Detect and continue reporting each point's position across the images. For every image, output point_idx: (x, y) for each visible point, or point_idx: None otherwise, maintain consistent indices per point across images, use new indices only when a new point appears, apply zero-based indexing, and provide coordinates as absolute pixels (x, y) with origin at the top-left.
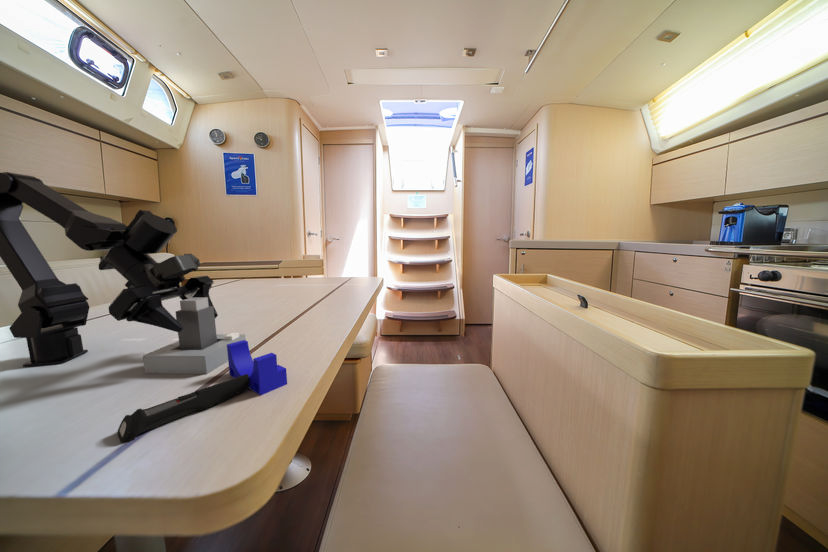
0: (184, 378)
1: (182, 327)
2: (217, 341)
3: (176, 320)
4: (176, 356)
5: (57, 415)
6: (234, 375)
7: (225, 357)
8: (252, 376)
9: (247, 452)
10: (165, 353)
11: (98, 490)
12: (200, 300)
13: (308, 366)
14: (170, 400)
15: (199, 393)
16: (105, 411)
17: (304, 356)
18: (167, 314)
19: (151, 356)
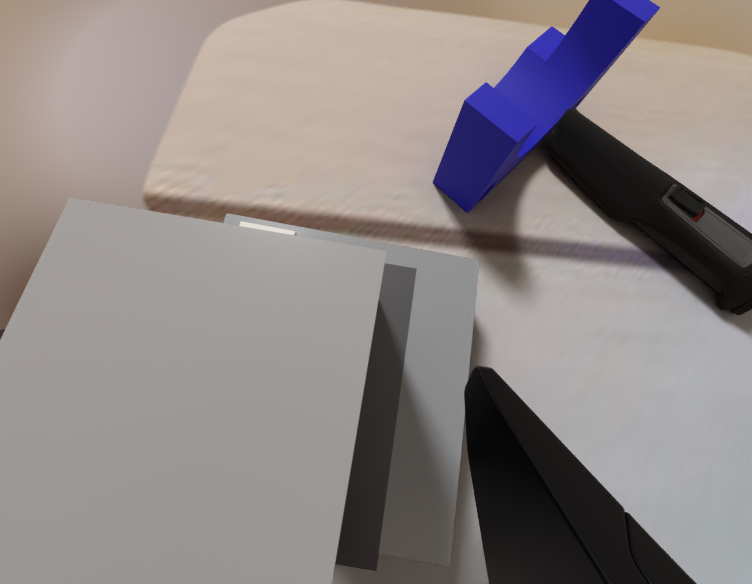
0: (480, 334)
1: (479, 368)
2: None
3: (512, 417)
4: (467, 381)
5: (692, 566)
6: (493, 186)
7: None
8: (584, 93)
9: (734, 79)
10: (436, 456)
11: None
12: (277, 237)
13: (434, 45)
14: (695, 235)
15: (672, 177)
16: (661, 430)
17: (364, 62)
18: (605, 519)
19: (455, 511)
